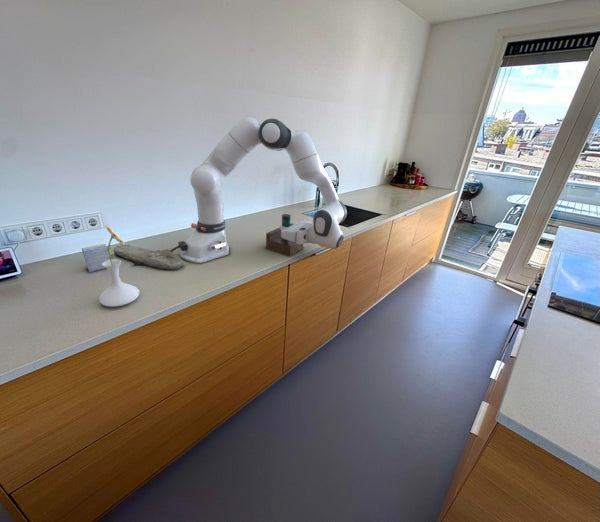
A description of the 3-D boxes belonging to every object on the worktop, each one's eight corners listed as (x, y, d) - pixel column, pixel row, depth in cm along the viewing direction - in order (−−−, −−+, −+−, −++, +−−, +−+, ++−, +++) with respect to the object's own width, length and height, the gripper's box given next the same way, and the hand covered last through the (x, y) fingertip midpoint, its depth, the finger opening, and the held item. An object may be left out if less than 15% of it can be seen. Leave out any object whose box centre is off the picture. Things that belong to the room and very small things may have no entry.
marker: (286, 241, 137) (287, 217, 132) (279, 239, 139) (280, 215, 134) (291, 238, 141) (292, 215, 135) (284, 236, 142) (285, 213, 137)
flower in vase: (136, 308, 91) (120, 234, 81) (95, 312, 88) (72, 236, 77) (144, 287, 103) (130, 220, 92) (107, 290, 99) (89, 221, 88)
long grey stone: (128, 250, 131) (108, 259, 123) (125, 239, 129) (104, 248, 120) (190, 263, 120) (173, 274, 112) (188, 251, 118) (170, 262, 109)
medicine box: (110, 262, 117) (105, 243, 113) (113, 266, 114) (108, 246, 110) (87, 268, 112) (81, 247, 108) (89, 272, 109) (83, 251, 105)
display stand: (289, 256, 134) (290, 240, 131) (265, 248, 141) (266, 233, 137) (302, 248, 144) (304, 233, 140) (280, 241, 150) (280, 226, 146)
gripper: (320, 221, 138) (296, 214, 144) (298, 232, 122) (271, 224, 128) (319, 233, 141) (295, 226, 147) (297, 245, 125) (271, 237, 131)
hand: (284, 225), depth 137 cm, fingers closed on marker, 4 cm apart
